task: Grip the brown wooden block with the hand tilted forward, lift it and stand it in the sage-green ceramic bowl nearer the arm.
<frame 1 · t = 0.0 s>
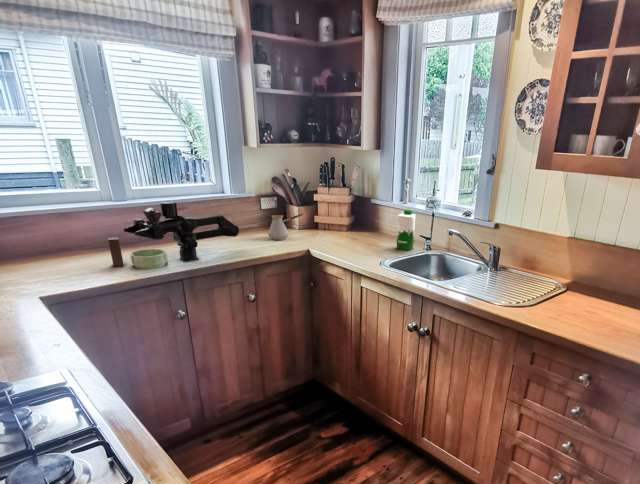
hand: (129, 231, 194), 17 cm above the worktop, tool horizontal, fingers open, 9 cm apart
coffee pot: (286, 239, 263), on the worktop
milk carton: (404, 248, 253), on the worktop
brown wooden block: (118, 265, 207), on the worktop
bowl: (150, 264, 209), on the worktop
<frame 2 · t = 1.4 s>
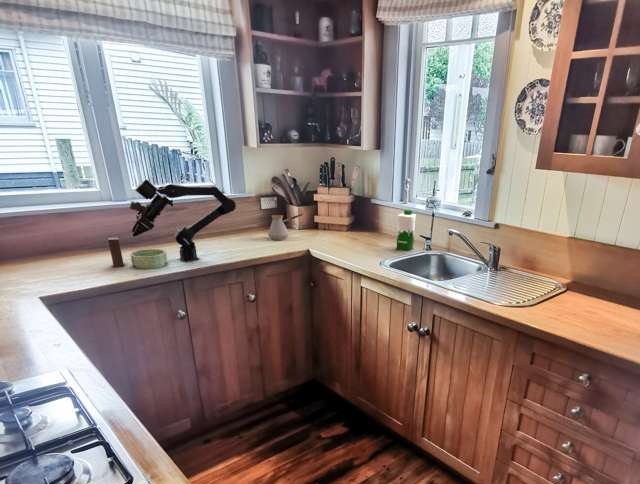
hand: (132, 233, 204), 14 cm above the worktop, tool tilted 45°, fingers open, 9 cm apart
nothing on the worktop moved.
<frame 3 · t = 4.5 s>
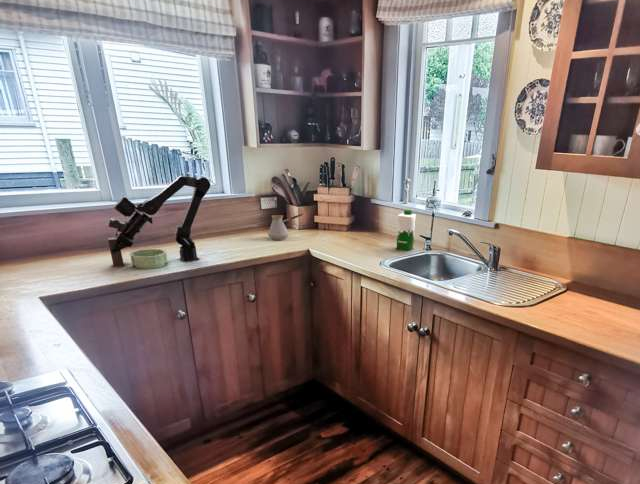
hand: (112, 251, 203), 7 cm above the worktop, tool tilted 45°, fingers closed on brown wooden block, 4 cm apart
brown wooden block: (118, 265, 207), on the worktop, touching gripper
everything else where it was.
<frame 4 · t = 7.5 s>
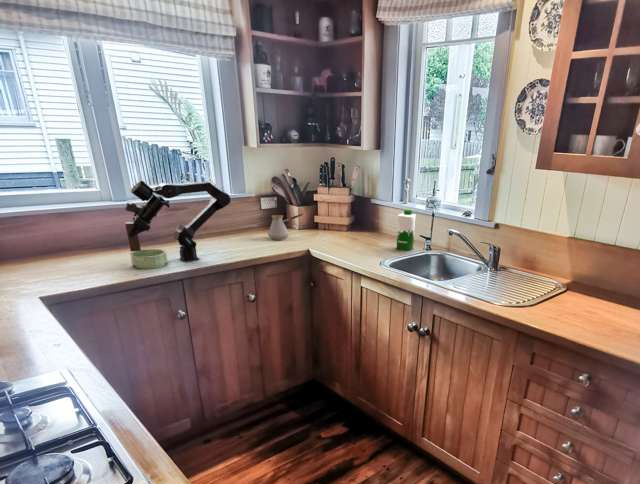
hand: (129, 235, 202), 13 cm above the worktop, tool tilted 45°, fingers closed on brown wooden block, 4 cm apart
brown wooden block: (135, 250, 206), point 7 cm above the worktop, touching gripper
everything else where it was.
when the fingers open (8 cm above the worktop, at t = 10.5 s): brown wooden block stays where it is, resting on bowl.
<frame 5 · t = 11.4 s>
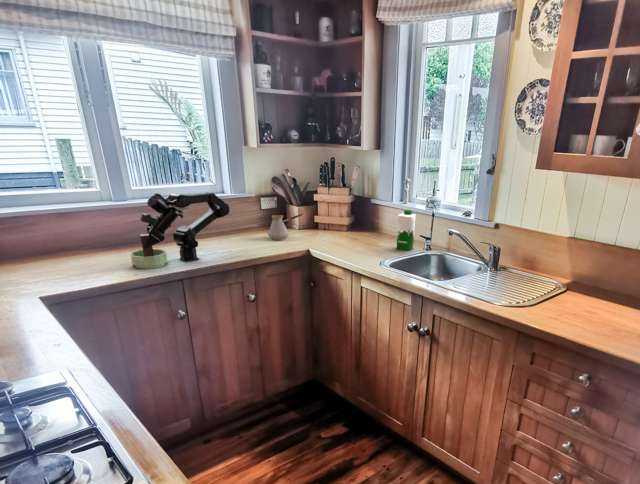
hand: (143, 245, 205), 9 cm above the worktop, tool tilted 45°, fingers open, 9 cm apart
brown wooden block: (149, 261, 209), point 2 cm above the worktop, touching bowl
everything else where it was.
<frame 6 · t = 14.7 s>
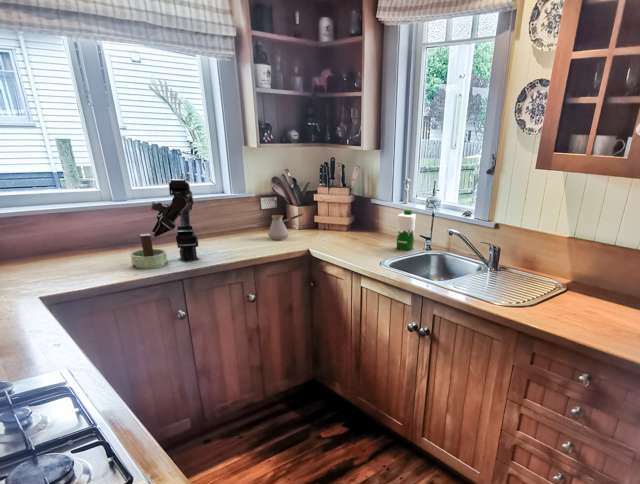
hand: (153, 234, 205), 14 cm above the worktop, tool tilted 45°, fingers open, 9 cm apart
nothing on the worktop moved.
at the end: brown wooden block inside the target area in the bowl (0.1 cm from its centre), point 1.5 cm above the bowl's base; the gripper is holding nothing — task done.
